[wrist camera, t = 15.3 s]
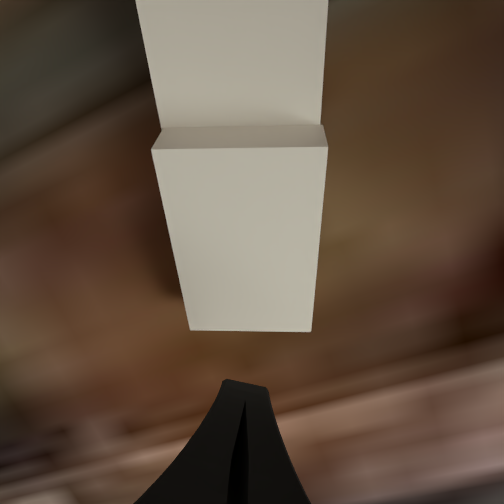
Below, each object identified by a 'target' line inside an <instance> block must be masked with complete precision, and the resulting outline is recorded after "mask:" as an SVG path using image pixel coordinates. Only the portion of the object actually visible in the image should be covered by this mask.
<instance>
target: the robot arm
mask: <svg viewBox="0 0 504 504" xmlns="http://www.w3.org/2000/svg"><path fill="white" fill-rule="evenodd" d="M134 504H311V503H310V501H309V499H308V497H307V495H306V493H305V491H304V489H303V487H302V485H301V483H300V481H299V478H298V476H297V474H296V472H295V469H294V467H293V465H292V463H291V460H290V458H289V455H288V453H287V450H286V448H285V445H284V442H283V440H282V437H281V434H280V431H279V428H278V426H277V422H276V419H275V416H274V413H273V409H272V405H271V401H270V397H269V392H268V390H267V388H266V387H262V386H257V385H253V384H248V383H243V382H239V381H234V380H229V379H226V380H224V381H222V385H221V388H220V391H219V393H218V395H217V397H216V399H215V401H214V403H213V405H212V407H211V409H210V410H209V412H208V413H207V415H206V417H205V418H204V420H203V421H202V423H201V425H200V426H199V428H198V429H197V431H196V432H195V433H194V435H193V436H192V437H191V439H190V440H189V441H188V443H187V444H186V446H185V447H184V448H183V450H182V451H181V452H180V453H179V455H178V456H177V457H176V458H175V460H174V461H173V462H172V463H171V464H170V466H169V467H168V468H167V469H166V470H165V471H164V472H163V474H162V475H161V476H160V477H159V478H158V479H157V480H156V481H155V482H154V483H153V484H152V485H151V486H150V487H149V488H148V490H147V491H146V492H145V493H144V494H143V495H142V496H141V497H140V498H139V499H138V500H137V501H136V502H135V503H134Z"/></svg>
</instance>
